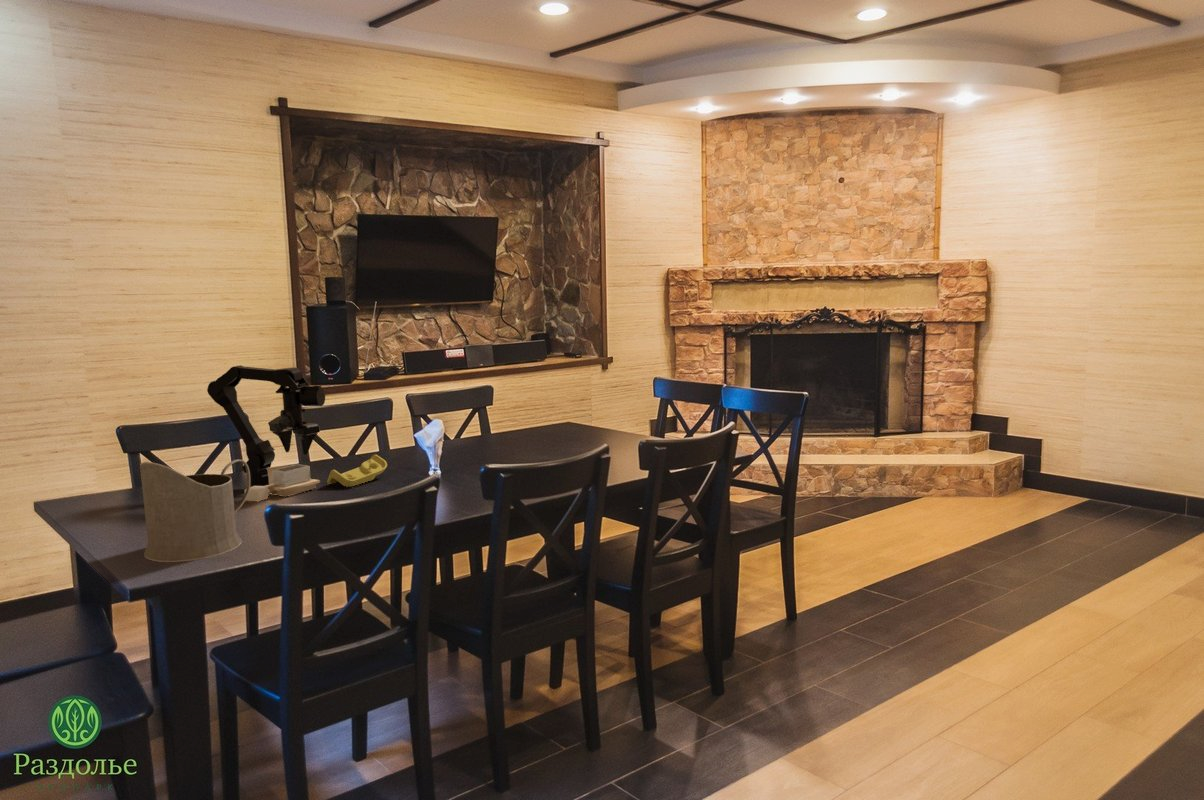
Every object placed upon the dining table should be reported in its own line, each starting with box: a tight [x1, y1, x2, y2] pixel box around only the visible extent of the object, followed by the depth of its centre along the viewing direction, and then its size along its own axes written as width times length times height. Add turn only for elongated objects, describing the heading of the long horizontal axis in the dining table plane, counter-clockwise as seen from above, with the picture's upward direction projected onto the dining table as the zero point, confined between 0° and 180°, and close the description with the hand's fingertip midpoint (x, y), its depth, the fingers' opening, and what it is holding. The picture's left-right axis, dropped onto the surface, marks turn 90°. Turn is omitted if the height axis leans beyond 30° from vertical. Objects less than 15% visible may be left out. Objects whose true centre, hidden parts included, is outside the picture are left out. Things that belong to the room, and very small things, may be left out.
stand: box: [266, 478, 321, 496], centre depth 294 cm, size 10×14×3 cm
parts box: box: [243, 486, 270, 500], centre depth 285 cm, size 5×5×4 cm
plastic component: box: [326, 454, 388, 488], centre depth 307 cm, size 20×7×10 cm
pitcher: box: [139, 458, 250, 563], centre depth 238 cm, size 23×32×25 cm
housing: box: [271, 464, 312, 487], centre depth 293 cm, size 10×6×5 cm, turn 146°
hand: (296, 453), depth 297 cm, fingers open, 9 cm apart
